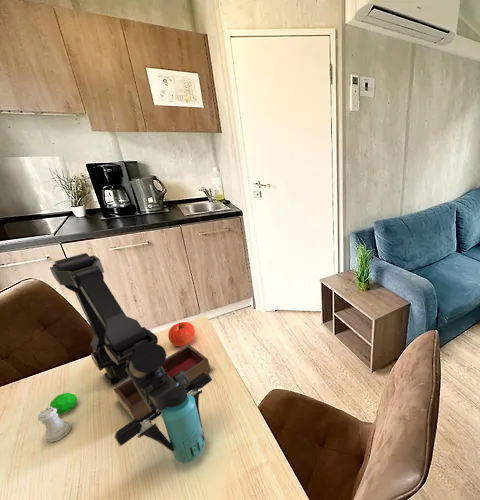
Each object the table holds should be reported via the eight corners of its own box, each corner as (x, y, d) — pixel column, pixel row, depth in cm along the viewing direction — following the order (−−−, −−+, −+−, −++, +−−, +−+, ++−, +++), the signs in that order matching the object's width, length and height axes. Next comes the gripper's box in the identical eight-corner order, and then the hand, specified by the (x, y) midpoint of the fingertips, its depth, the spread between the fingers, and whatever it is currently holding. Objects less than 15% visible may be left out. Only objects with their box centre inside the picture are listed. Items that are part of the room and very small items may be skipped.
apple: (179, 334, 102) (174, 316, 99) (201, 334, 102) (196, 316, 99) (165, 350, 95) (159, 331, 92) (189, 350, 95) (184, 331, 92)
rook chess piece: (76, 428, 71) (63, 406, 68) (54, 445, 67) (39, 423, 64) (64, 422, 72) (51, 400, 69) (42, 439, 68) (27, 417, 65)
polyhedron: (54, 408, 76) (47, 396, 74) (79, 397, 79) (72, 385, 77) (54, 421, 72) (46, 409, 70) (79, 409, 75) (72, 397, 73)
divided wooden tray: (119, 401, 78) (113, 389, 76) (192, 356, 93) (189, 344, 91) (136, 423, 72) (130, 410, 70) (211, 370, 87) (207, 358, 85)
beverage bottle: (194, 472, 62) (176, 408, 54) (167, 464, 63) (146, 401, 55) (213, 442, 68) (199, 381, 60) (188, 436, 69) (172, 375, 61)
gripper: (99, 405, 51) (143, 481, 50) (199, 345, 65) (236, 403, 64) (99, 411, 58) (137, 478, 57) (189, 356, 72) (222, 408, 71)
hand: (187, 439), depth 62 cm, fingers closed on beverage bottle, 6 cm apart
